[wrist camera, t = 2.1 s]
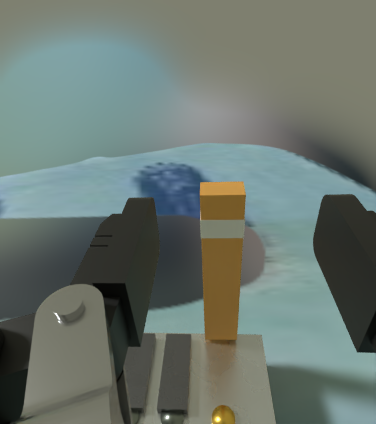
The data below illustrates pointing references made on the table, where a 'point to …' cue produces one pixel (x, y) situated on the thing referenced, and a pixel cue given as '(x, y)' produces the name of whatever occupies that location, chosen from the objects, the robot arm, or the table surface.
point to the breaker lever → (222, 255)
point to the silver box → (198, 380)
